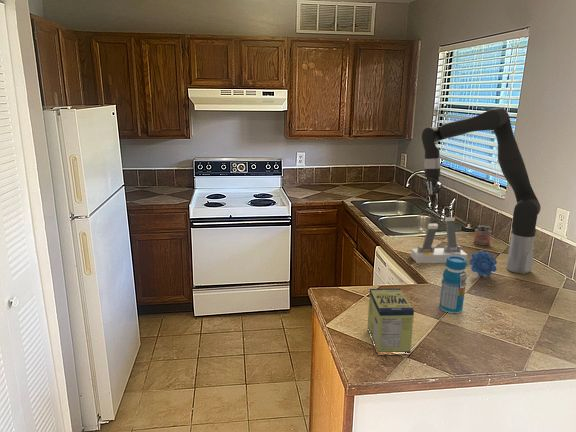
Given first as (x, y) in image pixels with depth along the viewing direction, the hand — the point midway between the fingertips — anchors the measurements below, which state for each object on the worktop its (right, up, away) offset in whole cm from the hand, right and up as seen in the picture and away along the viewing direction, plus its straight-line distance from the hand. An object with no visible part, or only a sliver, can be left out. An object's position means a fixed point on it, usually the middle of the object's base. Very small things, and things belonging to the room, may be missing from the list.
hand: (432, 201), depth 218 cm
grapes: (+12, -34, -29) cm, 47 cm away
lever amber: (-7, -23, -11) cm, 27 cm away
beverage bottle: (-13, -42, -57) cm, 72 cm away
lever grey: (+6, -23, -11) cm, 26 cm away
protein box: (-41, -48, -78) cm, 101 cm away
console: (-1, -28, -10) cm, 30 cm away
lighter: (+30, -22, +12) cm, 39 cm away
